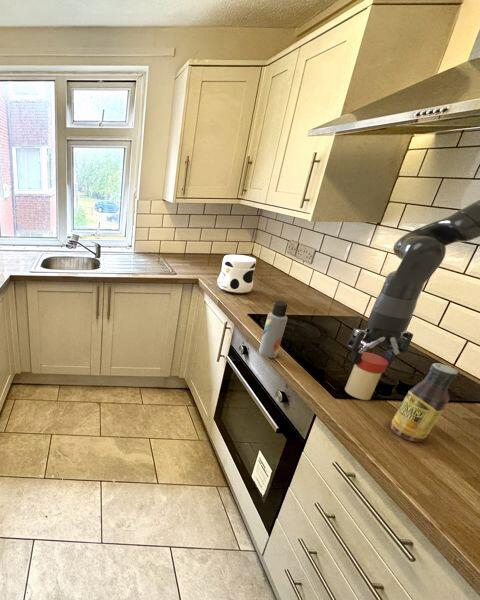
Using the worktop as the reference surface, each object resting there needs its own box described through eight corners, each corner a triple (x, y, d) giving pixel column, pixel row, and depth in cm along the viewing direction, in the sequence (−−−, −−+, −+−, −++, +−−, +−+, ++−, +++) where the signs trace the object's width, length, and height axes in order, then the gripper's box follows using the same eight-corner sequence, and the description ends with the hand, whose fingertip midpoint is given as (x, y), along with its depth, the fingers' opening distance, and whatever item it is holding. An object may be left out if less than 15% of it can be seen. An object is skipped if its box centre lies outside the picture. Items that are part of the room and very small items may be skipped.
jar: (359, 386, 95) (372, 354, 91) (376, 400, 89) (391, 366, 85) (339, 386, 95) (351, 354, 90) (356, 400, 89) (370, 366, 85)
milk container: (209, 286, 176) (214, 255, 169) (234, 283, 181) (240, 253, 174) (232, 297, 161) (239, 263, 154) (258, 294, 166) (266, 261, 159)
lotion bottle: (279, 355, 111) (294, 302, 103) (271, 360, 108) (286, 306, 100) (263, 348, 115) (276, 297, 107) (255, 352, 112) (268, 301, 105)
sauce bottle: (382, 424, 81) (414, 358, 73) (407, 424, 81) (441, 358, 73) (405, 444, 75) (443, 375, 67) (432, 445, 74) (473, 375, 67)
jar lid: (348, 363, 90) (351, 355, 89) (360, 357, 93) (363, 349, 92) (377, 375, 84) (381, 367, 83) (389, 369, 87) (393, 361, 86)
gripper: (375, 316, 79) (353, 370, 85) (434, 318, 79) (407, 372, 85) (353, 304, 86) (334, 355, 92) (406, 306, 85) (384, 357, 92)
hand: (369, 363), depth 88 cm, fingers open, 8 cm apart
